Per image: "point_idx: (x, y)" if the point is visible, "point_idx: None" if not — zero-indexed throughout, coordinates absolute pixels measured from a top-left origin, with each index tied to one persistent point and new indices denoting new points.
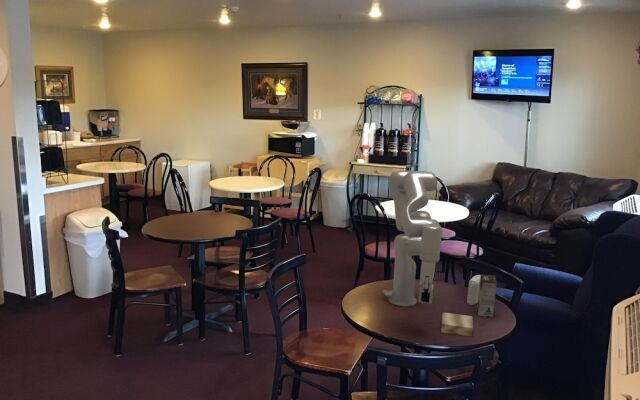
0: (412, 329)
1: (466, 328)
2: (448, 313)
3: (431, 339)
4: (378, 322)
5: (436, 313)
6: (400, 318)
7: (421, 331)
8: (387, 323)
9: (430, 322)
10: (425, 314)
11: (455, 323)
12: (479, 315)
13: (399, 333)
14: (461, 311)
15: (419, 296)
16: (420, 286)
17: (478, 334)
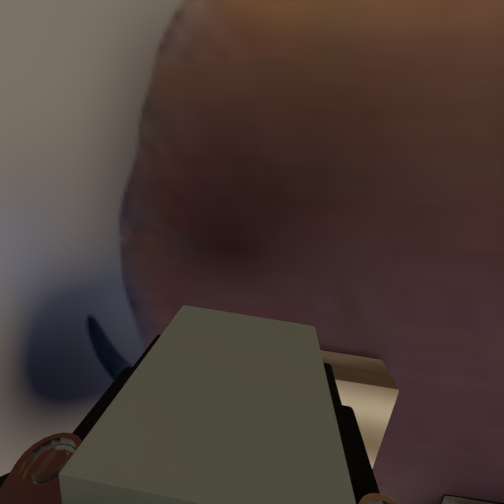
0: (255, 220)
1: None
2: (386, 412)
3: (171, 294)
4: (312, 18)
5: (465, 347)
6: (386, 161)
7: (241, 260)
8: (306, 80)
9: (351, 309)
10: (450, 296)
11: None
12: (444, 498)
13: (193, 152)
14: (490, 447)
15: (157, 345)
16: (128, 495)
17: None
